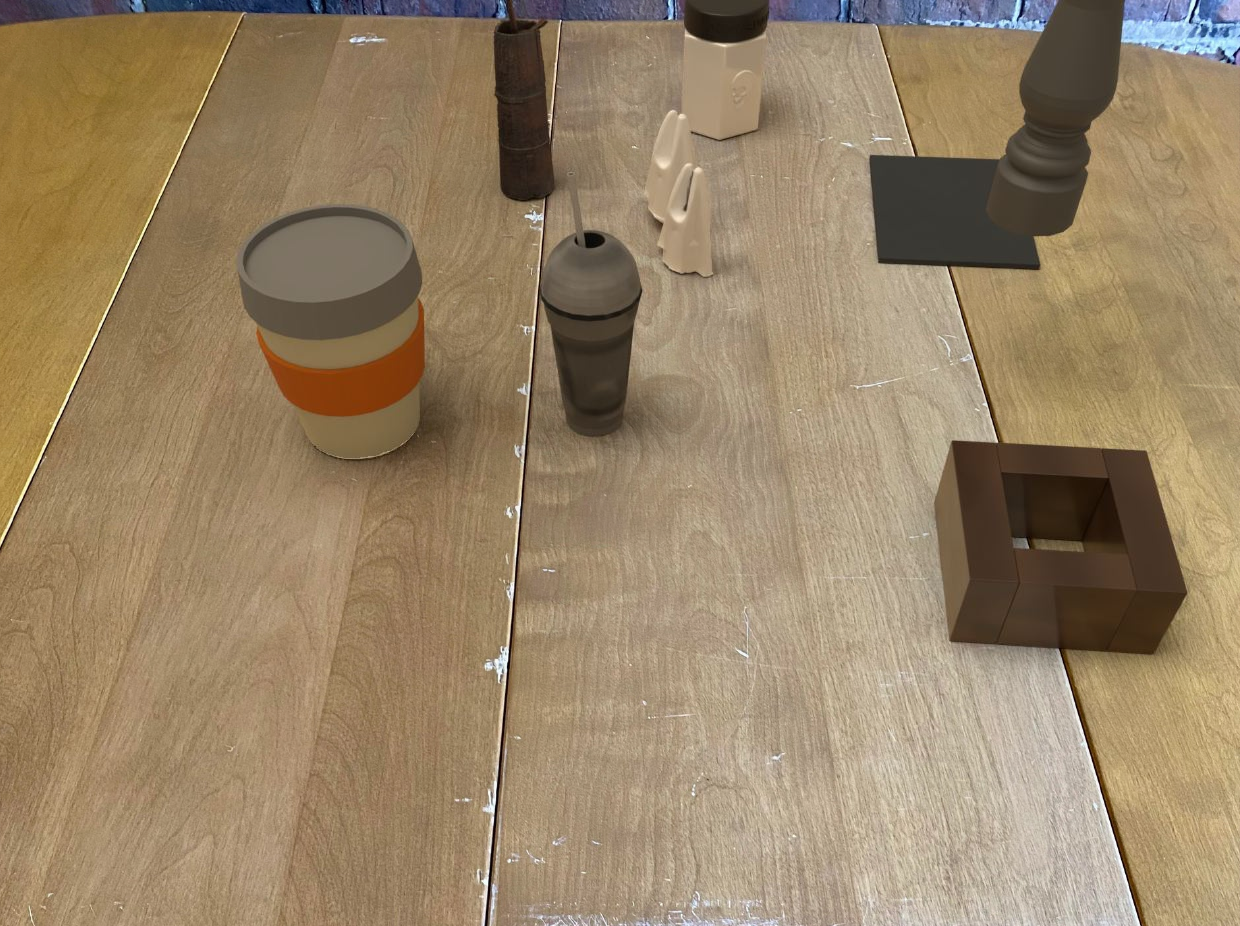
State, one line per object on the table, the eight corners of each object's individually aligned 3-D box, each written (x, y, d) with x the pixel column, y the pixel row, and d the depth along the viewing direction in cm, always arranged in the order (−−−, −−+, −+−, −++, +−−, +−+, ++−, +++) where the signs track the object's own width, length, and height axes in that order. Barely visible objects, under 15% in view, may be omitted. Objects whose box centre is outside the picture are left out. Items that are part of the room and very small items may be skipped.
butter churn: (587, 159, 117) (579, -170, 95) (583, 211, 111) (574, -128, 89) (495, 159, 117) (466, -169, 95) (486, 210, 111) (453, -127, 89)
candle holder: (1058, 245, 82) (1193, -173, 63) (973, 221, 84) (1078, -191, 65) (1085, 204, 85) (1221, -205, 66) (1003, 182, 88) (1111, -221, 68)
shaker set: (642, 209, 111) (643, 92, 102) (685, 204, 111) (690, 88, 103) (668, 281, 103) (671, 162, 95) (714, 276, 104) (722, 157, 95)
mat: (1014, 164, 115) (1015, 159, 114) (1039, 269, 103) (1040, 264, 103) (869, 159, 116) (869, 154, 115) (878, 262, 104) (879, 257, 104)
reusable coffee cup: (251, 453, 90) (195, 282, 78) (333, 357, 97) (293, 188, 86) (396, 493, 87) (361, 321, 75) (470, 391, 94) (448, 220, 82)
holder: (1118, 513, 84) (1146, 449, 79) (1153, 654, 76) (1188, 593, 71) (933, 503, 85) (951, 439, 80) (949, 641, 77) (970, 579, 72)
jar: (701, 147, 118) (707, 23, 108) (662, 112, 122) (665, -10, 113) (777, 126, 120) (790, 3, 111) (736, 93, 125) (746, -29, 116)
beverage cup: (622, 457, 89) (622, 215, 73) (533, 436, 90) (514, 195, 75) (653, 398, 93) (659, 158, 78) (567, 379, 95) (556, 141, 79)
